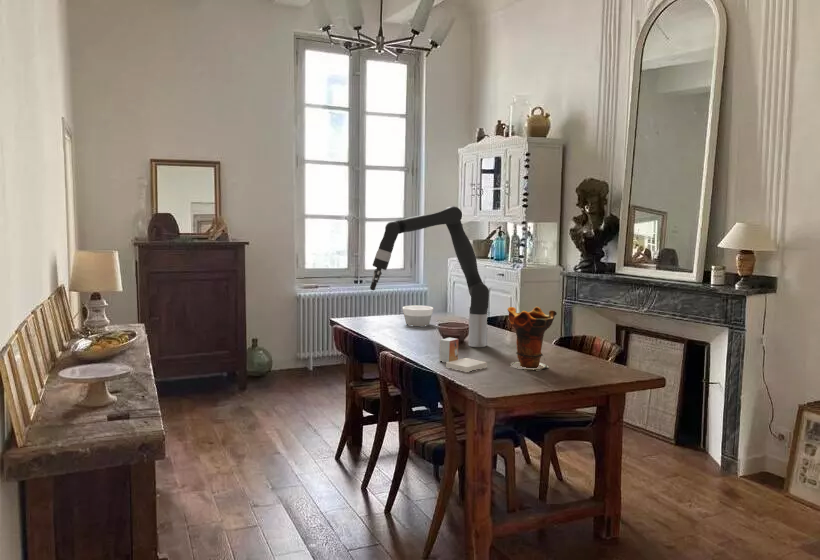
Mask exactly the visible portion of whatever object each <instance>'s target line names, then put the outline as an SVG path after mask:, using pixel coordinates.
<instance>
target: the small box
mask: <svg viewBox="0 0 820 560" xmlns="http://www.w3.org/2000/svg"><path fill="white" fill-rule="evenodd" d="M459 340H460V339H459V338H454V337H446V338H443V339H440V340H439V356H438V357H439V362H440V361H442V362H441V363H445V362H450V361H455V360H459Z"/></svg>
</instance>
